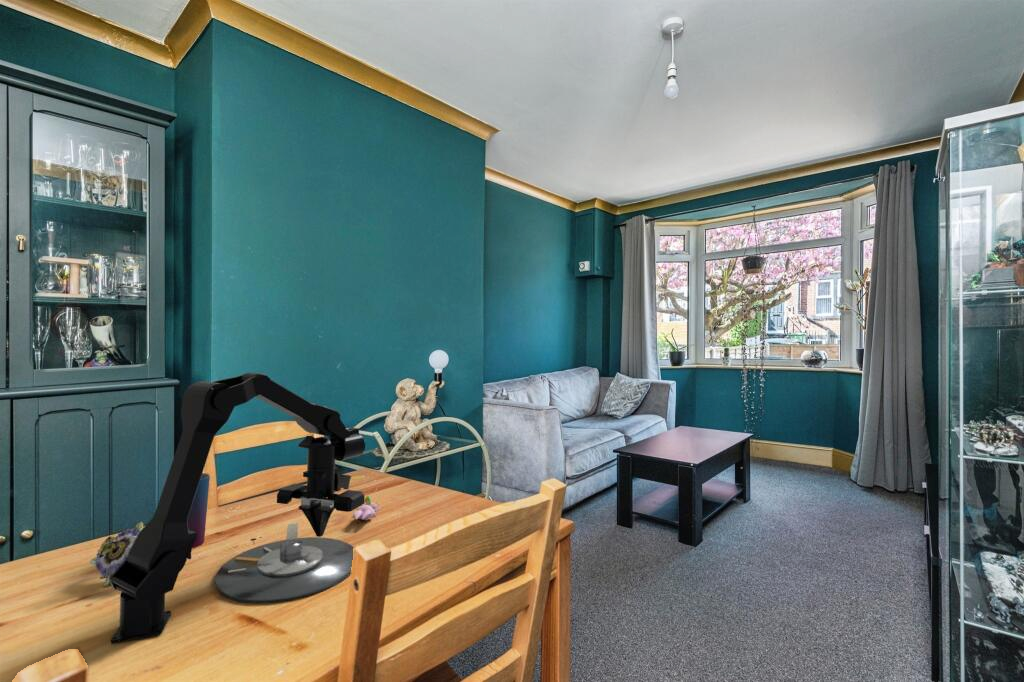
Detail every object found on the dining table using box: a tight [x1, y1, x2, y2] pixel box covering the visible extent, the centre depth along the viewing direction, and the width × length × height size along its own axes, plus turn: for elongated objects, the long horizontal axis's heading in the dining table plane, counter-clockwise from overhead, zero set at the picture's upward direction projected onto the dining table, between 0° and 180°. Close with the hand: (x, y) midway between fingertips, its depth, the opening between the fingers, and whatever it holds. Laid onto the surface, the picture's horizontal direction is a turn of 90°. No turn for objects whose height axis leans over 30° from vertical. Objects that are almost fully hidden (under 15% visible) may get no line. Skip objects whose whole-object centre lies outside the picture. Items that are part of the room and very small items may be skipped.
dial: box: [257, 522, 323, 576], centre depth 101 cm, size 17×12×4 cm
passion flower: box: [89, 521, 145, 588], centre depth 95 cm, size 11×11×12 cm
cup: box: [187, 472, 211, 549], centre depth 109 cm, size 7×7×15 cm
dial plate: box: [214, 536, 355, 604], centre depth 99 cm, size 26×26×1 cm
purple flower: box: [353, 494, 381, 521], centre depth 127 cm, size 6×6×15 cm
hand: (319, 536), depth 108 cm, fingers closed
